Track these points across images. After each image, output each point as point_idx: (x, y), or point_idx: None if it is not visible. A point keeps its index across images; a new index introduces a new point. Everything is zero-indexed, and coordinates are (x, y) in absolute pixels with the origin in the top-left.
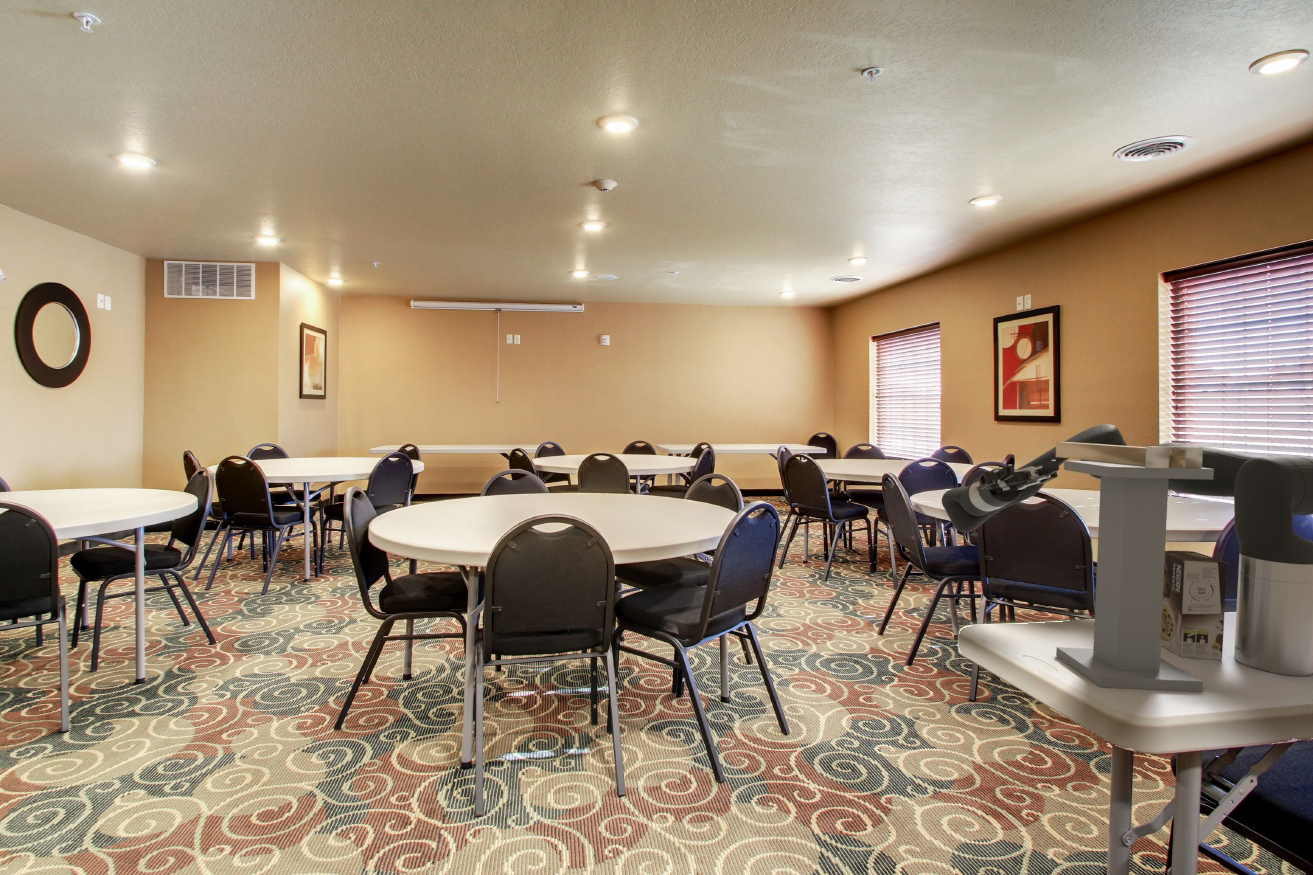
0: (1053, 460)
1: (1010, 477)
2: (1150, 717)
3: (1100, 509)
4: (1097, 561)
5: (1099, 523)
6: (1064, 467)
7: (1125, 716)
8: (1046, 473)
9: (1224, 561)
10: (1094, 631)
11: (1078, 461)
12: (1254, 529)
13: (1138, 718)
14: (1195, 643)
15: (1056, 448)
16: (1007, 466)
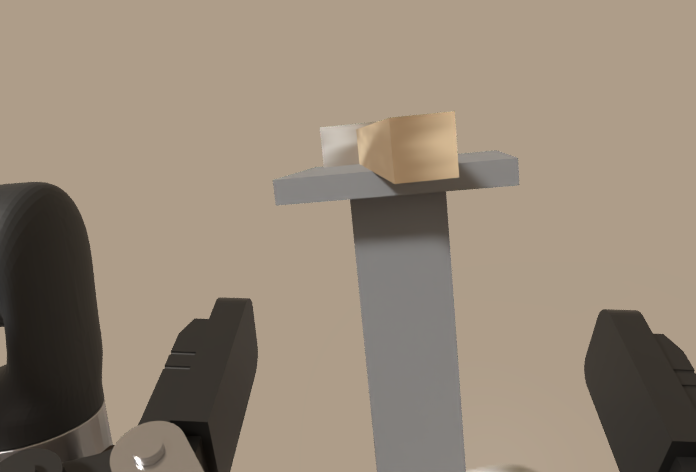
0: (237, 299)
1: (606, 433)
2: (495, 469)
3: (451, 277)
4: (460, 399)
5: (453, 311)
6: (518, 177)
7: (527, 469)
8: (227, 459)
9: (106, 449)
10: None
11: (490, 158)
12: (87, 348)
13: (513, 466)
14: None
15: (456, 139)
16: (639, 329)
